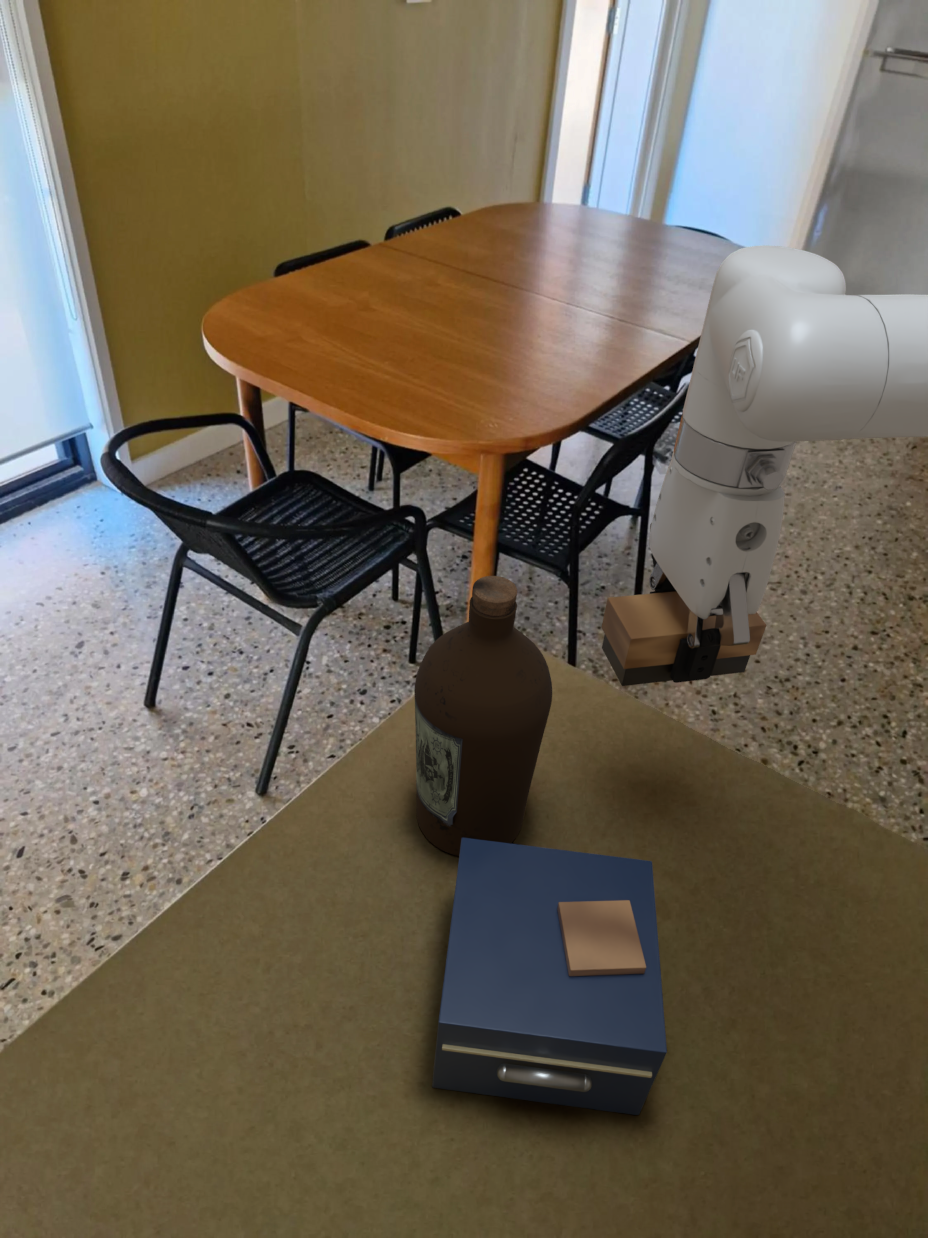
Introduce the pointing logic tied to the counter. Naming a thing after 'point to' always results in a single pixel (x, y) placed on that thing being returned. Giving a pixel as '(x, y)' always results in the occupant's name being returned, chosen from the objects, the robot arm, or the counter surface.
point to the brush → (662, 638)
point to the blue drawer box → (546, 983)
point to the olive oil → (479, 723)
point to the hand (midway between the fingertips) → (674, 652)
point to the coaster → (600, 938)
